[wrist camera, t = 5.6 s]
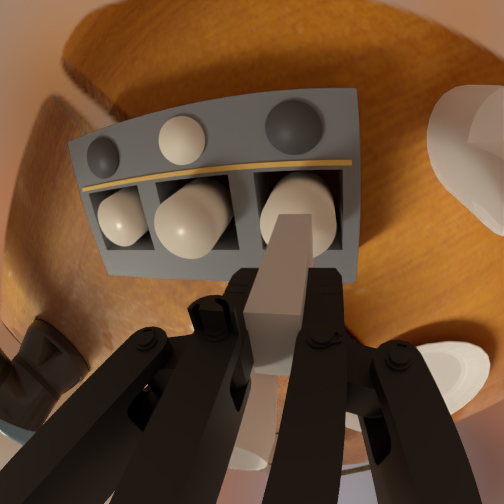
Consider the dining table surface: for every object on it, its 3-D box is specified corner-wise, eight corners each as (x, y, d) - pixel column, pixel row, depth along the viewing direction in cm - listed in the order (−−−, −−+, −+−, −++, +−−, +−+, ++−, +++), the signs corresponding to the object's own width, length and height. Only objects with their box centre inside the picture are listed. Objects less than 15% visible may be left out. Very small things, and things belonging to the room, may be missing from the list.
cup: (220, 321, 28) (174, 423, 18) (302, 351, 28) (285, 458, 18) (204, 366, 33) (169, 448, 23) (272, 390, 33) (251, 475, 23)
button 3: (274, 230, 19) (263, 259, 16) (268, 172, 17) (255, 191, 14) (333, 229, 18) (335, 260, 15) (332, 170, 16) (336, 189, 13)
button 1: (131, 226, 24) (106, 246, 21) (119, 184, 22) (91, 200, 19) (168, 224, 23) (145, 246, 20) (157, 177, 21) (130, 194, 18)
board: (131, 252, 26) (107, 276, 23) (99, 131, 20) (65, 142, 17) (351, 252, 21) (355, 285, 18) (348, 90, 15) (356, 88, 12)
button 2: (186, 232, 21) (163, 258, 18) (175, 180, 19) (146, 199, 16) (238, 230, 20) (221, 259, 17) (229, 175, 18) (209, 194, 15)
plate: (414, 427, 33) (415, 438, 32) (303, 405, 34) (301, 419, 32) (510, 347, 22) (516, 360, 20) (398, 301, 23) (403, 318, 21)
